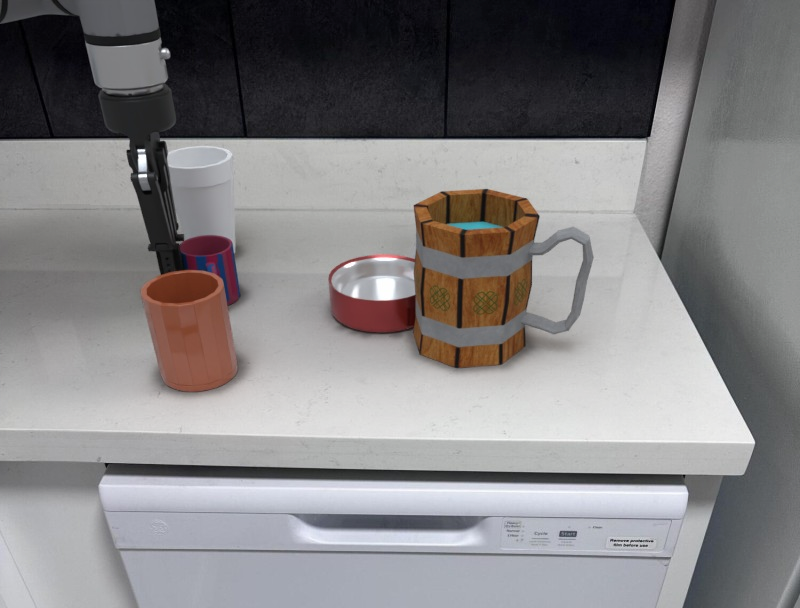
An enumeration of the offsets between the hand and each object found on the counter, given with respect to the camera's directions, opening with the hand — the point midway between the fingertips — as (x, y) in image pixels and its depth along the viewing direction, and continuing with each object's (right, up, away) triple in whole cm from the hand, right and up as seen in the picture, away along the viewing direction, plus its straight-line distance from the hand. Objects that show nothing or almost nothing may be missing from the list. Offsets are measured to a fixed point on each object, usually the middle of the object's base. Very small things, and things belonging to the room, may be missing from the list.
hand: (177, 297), depth 99 cm
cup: (+4, 0, +2) cm, 5 cm away
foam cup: (+1, +10, +14) cm, 17 cm away
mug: (+39, -7, -6) cm, 40 cm away
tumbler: (+5, -12, -10) cm, 16 cm away
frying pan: (+28, +4, +7) cm, 30 cm away
